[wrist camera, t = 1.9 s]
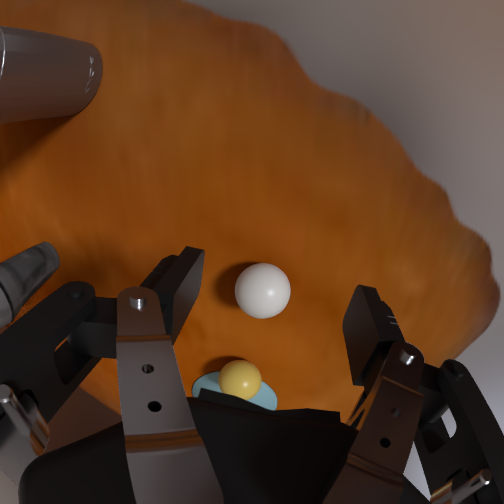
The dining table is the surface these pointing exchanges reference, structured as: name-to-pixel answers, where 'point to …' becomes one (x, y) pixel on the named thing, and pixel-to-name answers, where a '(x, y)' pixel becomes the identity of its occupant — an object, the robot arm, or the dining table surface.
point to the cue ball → (262, 290)
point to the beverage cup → (24, 278)
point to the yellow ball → (240, 379)
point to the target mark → (262, 399)
